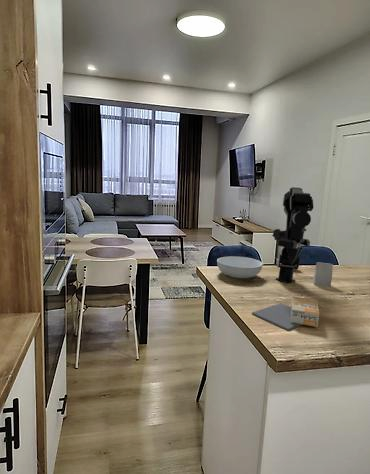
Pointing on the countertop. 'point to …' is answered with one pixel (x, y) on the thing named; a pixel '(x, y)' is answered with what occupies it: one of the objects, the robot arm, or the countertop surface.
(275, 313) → the mat
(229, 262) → the serving bowl
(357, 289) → the countertop surface
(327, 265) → the grey angular block
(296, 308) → the supplement box
